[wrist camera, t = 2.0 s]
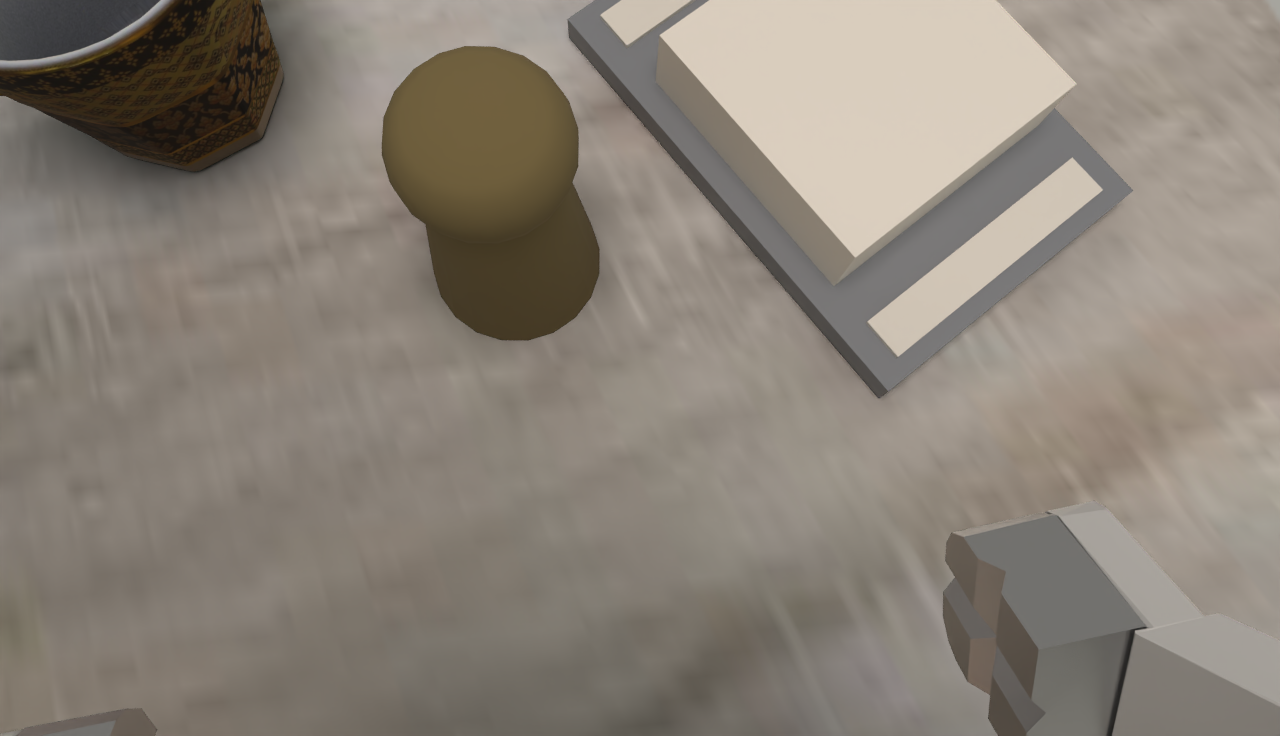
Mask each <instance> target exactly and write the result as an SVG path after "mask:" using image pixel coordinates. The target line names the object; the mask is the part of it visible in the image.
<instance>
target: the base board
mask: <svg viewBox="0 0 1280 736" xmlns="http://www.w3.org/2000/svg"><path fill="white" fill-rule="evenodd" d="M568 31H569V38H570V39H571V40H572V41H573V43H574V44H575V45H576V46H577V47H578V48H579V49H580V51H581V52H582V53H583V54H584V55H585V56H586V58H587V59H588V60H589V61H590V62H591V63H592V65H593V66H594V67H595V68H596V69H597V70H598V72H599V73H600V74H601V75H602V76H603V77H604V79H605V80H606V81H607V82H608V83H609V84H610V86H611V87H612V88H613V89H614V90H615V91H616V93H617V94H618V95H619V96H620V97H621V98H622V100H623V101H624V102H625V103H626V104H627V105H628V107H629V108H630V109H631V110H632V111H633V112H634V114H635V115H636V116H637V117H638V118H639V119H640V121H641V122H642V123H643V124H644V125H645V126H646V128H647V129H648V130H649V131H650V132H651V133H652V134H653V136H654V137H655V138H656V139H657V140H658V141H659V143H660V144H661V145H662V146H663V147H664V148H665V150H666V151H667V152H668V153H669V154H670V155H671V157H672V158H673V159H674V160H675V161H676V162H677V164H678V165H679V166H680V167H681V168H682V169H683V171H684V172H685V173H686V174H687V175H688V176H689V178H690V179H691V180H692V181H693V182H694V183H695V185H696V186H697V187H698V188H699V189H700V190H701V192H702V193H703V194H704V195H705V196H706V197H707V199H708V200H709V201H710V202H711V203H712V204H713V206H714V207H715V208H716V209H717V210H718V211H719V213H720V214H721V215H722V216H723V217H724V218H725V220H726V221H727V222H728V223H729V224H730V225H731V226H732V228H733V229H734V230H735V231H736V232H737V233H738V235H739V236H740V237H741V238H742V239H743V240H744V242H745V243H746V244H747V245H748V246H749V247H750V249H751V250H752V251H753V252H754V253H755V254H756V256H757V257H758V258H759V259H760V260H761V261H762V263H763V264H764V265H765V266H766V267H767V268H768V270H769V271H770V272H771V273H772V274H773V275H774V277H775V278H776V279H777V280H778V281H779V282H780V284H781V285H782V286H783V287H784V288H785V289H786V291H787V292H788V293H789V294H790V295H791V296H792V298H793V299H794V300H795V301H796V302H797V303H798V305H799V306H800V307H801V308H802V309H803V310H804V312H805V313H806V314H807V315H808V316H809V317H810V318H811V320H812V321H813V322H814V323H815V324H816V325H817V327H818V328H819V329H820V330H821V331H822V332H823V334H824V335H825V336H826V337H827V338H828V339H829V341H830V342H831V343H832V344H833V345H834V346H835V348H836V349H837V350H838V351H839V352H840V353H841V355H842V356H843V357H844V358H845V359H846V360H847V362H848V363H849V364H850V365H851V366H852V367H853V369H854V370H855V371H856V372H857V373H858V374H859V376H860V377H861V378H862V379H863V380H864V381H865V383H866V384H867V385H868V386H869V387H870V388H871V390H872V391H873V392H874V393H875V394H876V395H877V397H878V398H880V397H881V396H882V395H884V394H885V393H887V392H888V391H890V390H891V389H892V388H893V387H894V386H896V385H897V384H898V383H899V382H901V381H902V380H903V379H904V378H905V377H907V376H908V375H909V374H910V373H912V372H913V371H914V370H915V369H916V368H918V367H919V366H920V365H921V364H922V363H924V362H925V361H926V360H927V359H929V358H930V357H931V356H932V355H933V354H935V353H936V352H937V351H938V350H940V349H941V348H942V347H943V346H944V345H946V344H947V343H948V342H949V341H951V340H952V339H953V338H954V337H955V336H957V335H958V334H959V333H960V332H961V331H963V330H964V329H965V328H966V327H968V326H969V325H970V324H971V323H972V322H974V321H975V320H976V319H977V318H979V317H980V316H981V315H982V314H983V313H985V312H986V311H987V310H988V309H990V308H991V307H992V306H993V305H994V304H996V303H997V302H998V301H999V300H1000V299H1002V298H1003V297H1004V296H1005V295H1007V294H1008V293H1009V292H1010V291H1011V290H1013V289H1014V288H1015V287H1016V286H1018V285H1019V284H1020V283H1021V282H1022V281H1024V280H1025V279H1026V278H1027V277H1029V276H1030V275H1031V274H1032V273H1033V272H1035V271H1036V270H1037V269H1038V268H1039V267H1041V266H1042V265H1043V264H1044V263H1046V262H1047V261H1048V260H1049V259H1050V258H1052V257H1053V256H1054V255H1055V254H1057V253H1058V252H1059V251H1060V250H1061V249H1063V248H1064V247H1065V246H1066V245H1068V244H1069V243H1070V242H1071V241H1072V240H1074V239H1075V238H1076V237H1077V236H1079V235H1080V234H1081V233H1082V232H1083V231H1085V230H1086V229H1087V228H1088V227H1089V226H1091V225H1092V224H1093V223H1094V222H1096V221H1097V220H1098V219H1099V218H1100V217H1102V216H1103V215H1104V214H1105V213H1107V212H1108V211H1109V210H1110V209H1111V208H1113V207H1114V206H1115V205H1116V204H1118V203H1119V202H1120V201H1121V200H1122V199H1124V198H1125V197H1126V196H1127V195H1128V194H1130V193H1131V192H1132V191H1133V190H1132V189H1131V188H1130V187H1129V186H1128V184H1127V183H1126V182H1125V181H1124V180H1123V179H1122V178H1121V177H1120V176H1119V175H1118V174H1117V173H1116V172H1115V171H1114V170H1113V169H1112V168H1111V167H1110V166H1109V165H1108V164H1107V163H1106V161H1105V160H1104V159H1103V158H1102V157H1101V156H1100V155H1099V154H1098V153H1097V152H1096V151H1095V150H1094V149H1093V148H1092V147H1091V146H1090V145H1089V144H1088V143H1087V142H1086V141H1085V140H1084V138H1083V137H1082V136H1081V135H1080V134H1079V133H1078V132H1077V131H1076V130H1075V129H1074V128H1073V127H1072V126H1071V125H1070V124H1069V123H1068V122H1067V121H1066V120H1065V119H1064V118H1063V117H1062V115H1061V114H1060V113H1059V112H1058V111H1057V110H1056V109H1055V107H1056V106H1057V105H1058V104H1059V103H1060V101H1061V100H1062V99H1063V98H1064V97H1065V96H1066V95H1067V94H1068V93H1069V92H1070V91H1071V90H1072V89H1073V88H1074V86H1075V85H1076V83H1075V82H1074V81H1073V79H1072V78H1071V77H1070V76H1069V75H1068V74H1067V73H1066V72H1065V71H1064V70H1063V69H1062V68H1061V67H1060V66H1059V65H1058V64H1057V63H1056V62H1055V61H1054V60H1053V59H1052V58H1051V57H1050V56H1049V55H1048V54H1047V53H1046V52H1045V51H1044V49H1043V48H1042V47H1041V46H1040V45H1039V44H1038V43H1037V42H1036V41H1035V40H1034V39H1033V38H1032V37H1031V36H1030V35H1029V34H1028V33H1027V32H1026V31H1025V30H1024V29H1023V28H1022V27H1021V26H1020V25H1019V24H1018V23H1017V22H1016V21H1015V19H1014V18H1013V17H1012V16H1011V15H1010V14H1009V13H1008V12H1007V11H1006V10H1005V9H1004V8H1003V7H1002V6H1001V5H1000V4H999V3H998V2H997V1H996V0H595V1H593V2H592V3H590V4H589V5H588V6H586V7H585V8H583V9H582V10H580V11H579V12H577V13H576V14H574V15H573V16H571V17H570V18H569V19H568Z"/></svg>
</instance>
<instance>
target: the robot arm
mask: <svg viewBox="0 0 1280 736" xmlns="http://www.w3.org/2000/svg"><path fill="white" fill-rule="evenodd" d="M945 561H946V563H947V565H948V566H949V568H950V570H951V571H952V573H953V575H954V576H955V578H954V579H953V581H952V582H951V583H950V584H949V585H948V587H947V588H946V589H945V590H944V592H943V618H944V623H945V628H946V632H947V637H948V641H949V644H950V646H951V649H952V651H953V654H954V656H955V659H956V661H957V663H958V665H959V667H960V669H961V671H962V672H963V674H964V676H965V678H966V680H967V682H969V683H971V684H972V685H974V686H976V687H977V688H979V689H981V690H982V691H984V692H986V693H987V694H989V695H990V702H989V713H988V719H989V721H990V723H991V724H992V726H993V728H994V730H995V732H996V733H997V735H998V736H1280V640H1279V639H1276V638H1274V637H1272V636H1270V635H1268V634H1265V633H1263V632H1261V631H1259V630H1257V629H1254V628H1252V627H1250V626H1248V625H1245V624H1243V623H1241V622H1239V621H1237V620H1234V619H1232V618H1230V617H1228V616H1225V615H1223V614H1221V613H1216V614H1211V615H1205V616H1204V615H1203V613H1202V612H1201V611H1200V610H1199V609H1198V608H1197V607H1196V606H1195V605H1194V603H1193V602H1192V601H1191V600H1190V599H1189V598H1188V597H1187V596H1186V595H1185V594H1184V592H1183V591H1182V590H1181V589H1180V588H1179V587H1178V586H1177V585H1176V584H1175V583H1174V581H1173V580H1172V579H1171V578H1170V577H1169V576H1168V575H1167V574H1166V573H1165V571H1164V570H1163V569H1162V568H1161V567H1160V566H1159V565H1158V564H1157V563H1156V562H1155V560H1154V559H1153V558H1152V557H1151V556H1150V555H1149V554H1148V553H1147V552H1146V551H1145V549H1144V548H1143V547H1142V546H1141V545H1140V544H1139V543H1138V542H1137V541H1136V540H1135V538H1134V537H1133V536H1132V535H1131V534H1130V533H1129V532H1128V531H1127V530H1126V528H1125V527H1124V526H1123V525H1122V524H1121V523H1120V522H1119V521H1118V520H1117V519H1116V517H1115V516H1114V515H1113V514H1112V513H1111V512H1110V511H1109V510H1108V509H1107V508H1106V506H1104V505H1102V504H1100V503H1098V502H1096V501H1091V502H1086V503H1082V504H1077V505H1073V506H1068V507H1064V508H1059V509H1055V510H1050V511H1047V512H1045V513H1036V514H1031V515H1027V516H1022V517H1018V518H1013V519H1009V520H1004V521H1000V522H995V523H991V524H986V525H982V526H978V527H973V528H969V529H964V530H960V531H955V532H951V534H950V536H949V538H948V540H947V542H946V555H945ZM156 732H157V729H156V727H155V726H154V725H153V723H152V722H151V720H150V719H149V718H148V716H147V715H146V714H145V712H144V711H143V710H142V708H133V709H122V710H117V711H112V712H106V713H101V714H96V715H90V716H85V717H80V718H74V719H69V720H64V721H58V722H53V723H48V724H42V725H37V726H32V727H26V728H24V729H20V730H15V731H10V732H4V733H0V736H155V735H156Z"/></svg>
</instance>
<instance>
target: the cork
mask: <svg viewBox="0 0 1280 736" xmlns="http://www.w3.org/2000/svg"><path fill="white" fill-rule="evenodd" d="M578 139H579V138H578V127H577V124H576V121H575V118H574V115H573V112H572V109H571V106H570V103H569V101H568V99H567V98H566V96H565V95H564V93H563V92H562V91H561V89H560V88H559V87H558V86H557V84H556V83H555V82H554V80H553V79H552V78H551V77H550V75H549V74H548V73H547V71H545V70H544V69H542V68H541V67H539V66H538V65H536V64H535V63H533V62H532V61H530V60H529V59H527V58H526V57H524V56H523V55H519V54H516V53H513V52H510V51H506V50H503V49H500V48H497V47H477V46H464V47H461V48H457V49H453V50H450V51H446V52H442V53H439V54H437V55H436V56H434V57H432V58H431V59H429V60H428V61H426V62H424V63H423V64H421V65H420V66H418V67H416V68H415V69H414V70H413V71H412V72H411V73H410V74H409V75H408V76H407V78H406V79H405V80H404V81H403V82H402V83H401V85H400V86H399V87H398V88H397V89H396V90H395V91H394V94H393V96H392V99H391V101H390V103H389V106H388V108H387V110H386V113H385V115H384V119H383V135H382V157H383V160H384V164H385V167H386V171H387V174H388V178H389V181H390V183H391V185H392V187H393V188H394V190H395V191H396V193H397V194H398V196H399V197H400V198H401V200H402V201H403V203H404V204H405V205H406V207H407V208H408V209H409V211H410V212H411V214H412V215H414V216H415V217H416V218H418V219H419V220H421V221H422V222H423V223H425V224H426V230H427V235H428V241H429V247H430V253H431V258H432V264H433V270H434V274H435V278H436V281H437V284H438V288H439V291H440V295H441V297H442V298H443V300H444V301H445V303H446V304H447V305H448V307H449V308H450V310H451V311H452V313H453V314H454V315H455V317H456V318H458V319H459V320H461V321H462V322H463V323H465V324H466V325H467V326H469V327H470V328H472V329H473V330H474V331H476V332H478V333H481V334H484V335H487V336H490V337H493V338H497V339H500V340H531V339H534V338H537V337H540V336H544V335H547V334H550V333H553V332H555V331H556V330H558V329H559V328H561V327H562V326H564V325H565V324H567V323H568V322H569V321H571V320H572V319H574V318H575V317H576V316H577V315H578V313H579V312H580V311H581V309H582V308H583V307H584V306H585V304H586V303H587V302H588V300H589V299H590V298H591V296H592V293H593V290H594V287H595V284H596V281H597V278H598V276H599V246H598V243H597V240H596V237H595V234H594V231H593V228H592V225H591V223H590V221H589V219H588V216H587V214H586V212H585V210H584V207H583V205H582V203H581V201H580V198H579V196H578V194H577V192H576V189H575V187H574V185H573V183H572V182H573V179H574V176H575V173H576V171H577V168H578Z"/></svg>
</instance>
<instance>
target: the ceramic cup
mask: <svg viewBox="0 0 1280 736" xmlns="http://www.w3.org/2000/svg"><path fill="white" fill-rule="evenodd" d="M283 75H284V73H283V70H282V67H281V64H280V60H279V56H278V54H277V51H276V48H275V45H274V43H273V40H272V37H271V33H270V30H269V27H268V24H267V20H266V17H265V14H264V11H263V7H262V4H261V1H260V0H0V96H7V97H9V98H11V99H13V100H15V101H17V102H20V103H22V104H25V105H28V106H31V107H33V108H35V109H37V110H39V111H41V112H43V113H45V114H47V115H49V116H51V117H53V118H55V119H57V120H59V121H61V122H63V123H65V124H67V125H69V126H72V127H74V128H76V129H78V130H80V131H82V132H84V133H86V134H88V135H90V136H92V137H93V138H95V139H97V140H99V141H101V142H102V143H104V144H106V145H108V146H109V147H111V148H114V149H115V150H117V151H119V152H120V153H122V154H124V155H126V156H128V157H132V158H135V159H140V160H144V161H148V162H153V163H157V164H161V165H165V166H170V167H174V168H178V169H183V170H187V171H193V172H196V171H200V170H202V169H204V168H206V167H208V166H210V165H212V164H214V163H216V162H218V161H220V160H222V159H224V158H226V157H227V156H229V155H231V154H233V153H235V152H237V151H239V150H241V149H243V148H245V147H246V146H248V145H250V144H252V143H254V142H256V141H258V140H259V139H261V138H262V136H263V134H264V131H265V129H266V126H267V123H268V120H269V117H270V115H271V112H272V109H273V106H274V103H275V101H276V98H277V95H278V92H279V89H280V86H281V83H282V80H283Z"/></svg>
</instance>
